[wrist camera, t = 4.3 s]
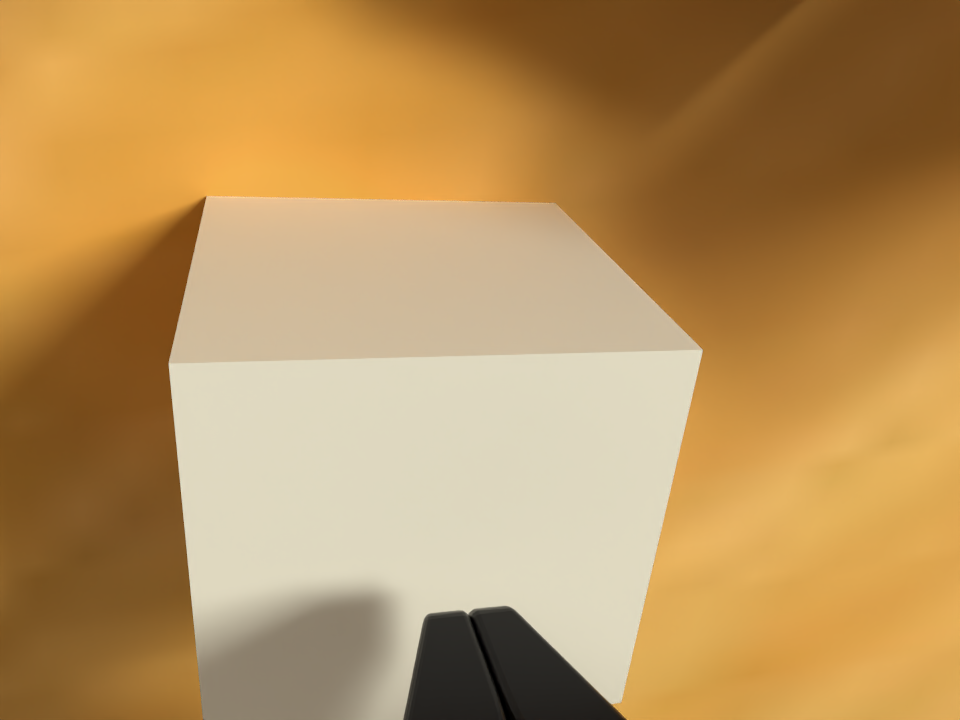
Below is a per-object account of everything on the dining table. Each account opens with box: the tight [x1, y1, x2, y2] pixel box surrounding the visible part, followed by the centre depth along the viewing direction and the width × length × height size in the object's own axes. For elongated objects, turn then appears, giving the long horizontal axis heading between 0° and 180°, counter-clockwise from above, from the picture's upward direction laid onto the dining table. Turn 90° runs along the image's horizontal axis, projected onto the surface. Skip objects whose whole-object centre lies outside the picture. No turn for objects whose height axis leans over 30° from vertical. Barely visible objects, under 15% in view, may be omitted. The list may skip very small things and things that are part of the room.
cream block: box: [169, 196, 703, 720], centre depth 11 cm, size 5×5×5 cm
